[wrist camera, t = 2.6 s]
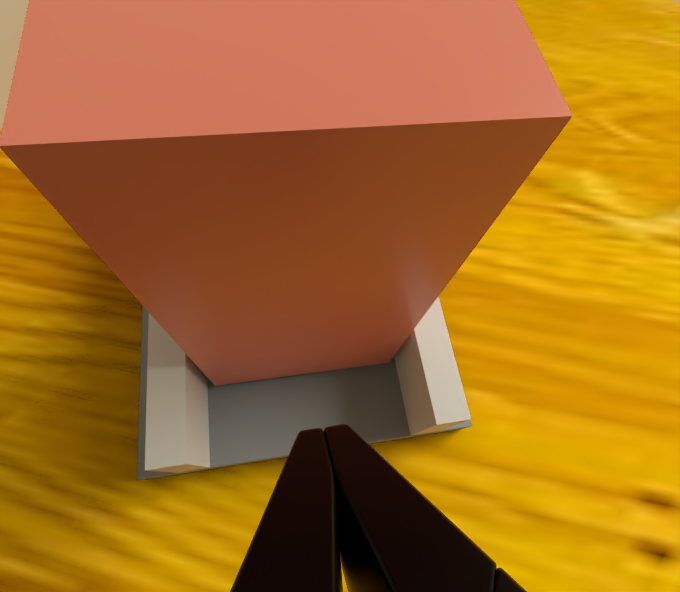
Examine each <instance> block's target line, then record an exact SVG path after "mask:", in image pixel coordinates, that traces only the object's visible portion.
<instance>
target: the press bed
mask: <svg viewBox="0 0 680 592" xmlns="http://www.w3.org/2000/svg"><path fill="white" fill-rule="evenodd" d="M470 420H471V417H470V413H469V409H468V405H467V402H466V398H465V394H464V390H463V387H462V383H461V379H460V376H459V372H458V368H457V364H456V361H455V357H454V353H453V349H452V346H451V342H450V338H449V335H448V331H447V327H446V323H445V320H444V316H443V312H442V308H441V305H440V301H439V297H437V299H436V300H435V302H434V303H433V304H432V306H431V307H430V308H429V310H428V311H427V312H426V314H425V315H424V316H423V318H422V319H421V320H420V322H419V323H418V324H417V326H416V327H415V328H414V330H413V331H412V332H411V334H410V335H409V337H408V338H407V339H406V341H405V342H404V343H403V345H402V346H401V347H400V349H399V350H398V351H397V353H396V354H395V355H394V357H393V358H392V359H391V361H390V362H389V363H383V364H376V365H368V366H361V367H353V368H346V369H338V370H331V371H323V372H316V373H308V374H301V375H293V376H286V377H278V378H271V379H263V380H256V381H248V382H241V383H233V384H226V385H218V386H215V385H214V384H213V383H212V382H211V381H210V380H209V379H208V378H207V376H206V375H205V374H204V373H203V372H202V371H201V370H200V369H199V368H198V366H197V365H196V364H195V363H194V362H193V361H192V360H191V359H190V358H189V356H188V355H187V354H186V353H185V352H184V351H183V350H182V349H181V348H180V346H179V345H178V344H177V343H176V342H175V341H174V340H173V339H172V338H171V337H170V335H169V334H168V333H167V332H166V331H165V330H164V329H163V328H162V327H161V325H160V324H159V323H158V322H157V321H156V320H155V319H154V318H153V317H152V315H151V314H150V313H149V312H148V311H147V310H146V309H145V308H144V307H143V305H142V335H141V367H140V399H139V430H138V462H137V479H153V478H159V477H165V476H172V475H178V474H184V473H190V472H197V471H203V470H209V469H216V468H222V467H228V466H234V465H241V464H247V463H253V462H259V461H266V460H272V459H278V458H284V457H288V455H289V453H290V451H291V448H292V446H293V444H294V442H295V439H296V437H297V435H298V433H299V432H300V431H302V430H308V429H314V428H321V429H322V430H323V431H324V429H325V428H326V427H328V426H334V425H340V424H347V425H349V426H350V427H351V428H352V429H353V430H354V431H355V432H356V433H357V434H359V435H360V436H361V437H362V438H363V439H364V440H365V441H366V442H367V443H368V444H372V443H378V442H384V441H391V440H397V439H403V438H409V437H416V436H422V435H428V434H434V433H441V432H447V431H453V430H459V429H464V428H467V427H470V426H472V425H471V421H470Z"/></svg>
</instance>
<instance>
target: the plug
mask: <svg viewBox="0 0 680 592" xmlns="http://www.w3.org/2000/svg"><path fill="white" fill-rule="evenodd" d="M571 117H572V114H571V112H570V110H569V108H568V106H567V104H566V102H565V100H564V98H563V96H562V94H561V92H560V90H559V88H558V86H557V84H556V82H555V80H554V78H553V76H552V74H551V72H550V70H549V68H548V66H547V64H546V62H545V60H544V58H543V56H542V54H541V52H540V50H539V48H538V46H537V43H536V41H535V39H534V37H533V35H532V33H531V31H530V29H529V27H528V25H527V23H526V21H525V19H524V17H523V15H522V13H521V11H520V9H519V7H518V5H517V3H516V1H515V0H29V4H28V8H27V14H26V18H25V23H24V27H23V32H22V37H21V42H20V47H19V51H18V57H17V61H16V66H15V70H14V76H13V81H12V85H11V90H10V94H9V99H8V104H7V109H6V113H5V118H4V123H3V128H2V133H1V137H0V148H1V149H2V150H3V151H4V152H5V154H6V155H7V156H8V157H9V158H10V159H11V160H12V161H13V162H14V164H15V165H16V166H17V167H18V168H19V169H20V170H21V171H22V172H23V174H24V175H25V176H26V177H27V178H28V179H29V180H30V181H31V182H32V184H33V185H34V186H35V187H36V188H37V189H38V190H39V191H40V192H41V194H42V195H43V196H44V197H45V198H46V199H47V200H48V201H49V202H50V203H51V205H52V206H53V207H54V208H55V209H56V210H57V211H58V212H59V213H60V215H61V216H62V217H63V218H64V219H65V220H66V221H67V222H68V223H69V225H70V226H71V227H72V228H73V229H74V230H75V231H76V232H77V233H78V235H79V236H80V237H81V238H82V239H83V240H84V241H85V242H86V243H87V245H88V246H89V247H90V248H91V249H92V250H93V251H94V252H95V253H96V254H97V256H98V257H99V258H100V259H101V260H102V261H103V262H104V263H105V264H106V266H107V267H108V268H109V269H110V270H111V271H112V272H113V273H114V274H115V276H116V277H117V278H118V279H119V280H120V281H121V282H122V283H123V284H124V286H125V287H126V288H127V289H128V290H129V291H130V292H131V293H132V294H133V296H134V297H135V298H136V299H137V300H138V301H139V302H140V303H141V304H142V305H143V307H144V308H145V309H146V310H147V311H148V312H149V313H150V314H151V315H152V317H153V318H154V319H155V320H156V321H157V322H158V323H159V324H160V325H161V327H162V328H163V329H164V330H165V331H166V332H167V333H168V334H169V335H170V337H171V338H172V339H173V340H174V341H175V342H176V343H177V344H178V345H179V346H180V348H181V349H182V350H183V351H184V352H185V353H186V354H187V355H188V356H189V358H190V359H191V360H192V361H193V362H194V363H195V364H196V365H197V366H198V368H199V369H200V370H201V371H202V372H203V373H204V374H205V375H206V376H207V378H208V379H209V380H210V381H211V382H212V383H213V384H214V385H215V386H218V385H226V384H233V383H241V382H248V381H256V380H263V379H271V378H278V377H286V376H293V375H301V374H308V373H316V372H323V371H331V370H338V369H346V368H353V367H361V366H368V365H376V364H383V363H389V362H390V361H391V359H392V358H393V357H394V355H395V354H396V353H397V351H398V350H399V349H400V347H401V346H402V345H403V343H404V342H405V341H406V339H407V338H408V337H409V335H410V334H411V332H412V331H413V330H414V328H415V327H416V326H417V324H418V323H419V322H420V320H421V319H422V318H423V316H424V315H425V314H426V312H427V311H428V310H429V308H430V307H431V306H432V304H433V303H434V302H435V300H436V299H437V297H438V296H439V295H440V293H441V292H442V291H443V289H444V288H445V287H446V285H447V284H448V283H449V281H450V280H451V279H452V277H453V276H454V275H455V273H456V272H457V271H458V269H459V268H460V267H461V265H462V264H463V263H464V261H465V260H466V258H467V257H468V256H469V254H470V253H471V252H472V250H473V249H474V248H475V246H476V245H477V244H478V242H479V241H480V240H481V238H482V237H483V236H484V234H485V233H486V232H487V230H488V229H489V228H490V226H491V225H492V224H493V222H494V221H495V219H496V218H497V217H498V215H499V214H500V213H501V211H502V210H503V209H504V207H505V206H506V205H507V203H508V202H509V201H510V199H511V198H512V197H513V195H514V194H515V193H516V191H517V190H518V189H519V187H520V186H521V184H522V183H523V182H524V180H525V179H526V178H527V176H528V175H529V174H530V172H531V171H532V170H533V168H534V167H535V166H536V164H537V163H538V162H539V160H540V159H541V158H542V156H543V155H544V154H545V152H546V151H547V150H548V148H549V147H550V145H551V144H552V143H553V141H554V140H555V139H556V137H557V136H558V135H559V133H560V132H561V131H562V129H563V128H564V127H565V125H566V124H567V123H568V121H569V120H570V119H571Z"/></svg>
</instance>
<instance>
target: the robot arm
mask: <svg viewBox="0 0 680 592" xmlns="http://www.w3.org/2000/svg"><path fill="white" fill-rule="evenodd" d="M341 563H342V569H343V573H344V577H345V581H346V585H347V588H348V592H527V591H525V590H524V589H523V588H522V587H521V586H520V585H519V584H518V583H517V582H516V581H515V580H514V579H513V578H511V577H510V576H509V575H508V574H507V573H506V572H505V571H504V570H503V569H502V568H497V570H496V563H495V562H494V561H493V560H492V559H491V558H490V557H489V556H488V555H487V554H486V553H485V552H483V551H482V550H481V549H480V548H479V547H478V546H477V545H476V544H475V543H474V542H473V541H472V540H471V539H470V538H469V537H467V536H466V535H465V534H464V533H463V532H462V531H461V530H460V529H459V528H458V527H457V526H456V525H455V524H454V523H453V522H451V521H450V520H449V519H448V518H447V517H446V516H445V515H444V514H443V513H442V512H441V511H440V510H439V509H438V508H436V507H435V506H434V505H433V504H432V503H431V502H430V501H429V500H428V499H427V498H426V497H425V496H424V495H423V494H422V493H420V492H419V491H418V490H417V489H416V488H415V487H414V486H413V485H412V484H411V483H410V482H409V481H408V480H407V479H406V478H404V477H403V476H402V475H401V474H400V473H399V472H398V471H397V470H396V469H395V468H394V467H393V466H392V465H391V464H390V463H388V462H387V461H386V460H385V459H384V458H383V457H382V456H381V455H380V454H379V453H378V452H377V451H376V450H375V449H373V448H372V447H371V446H370V445H369V444H368V443H367V442H366V441H365V440H364V439H363V438H362V437H361V436H360V435H359V434H357V433H356V432H355V431H354V430H353V429H352V428H351V427H350V426H349V425H347V424H340V425H334V426H328V427H326V428H325V429H324V431H323V430H322V429H321V428H314V429H308V430H302V431H300V432H299V433H298V435H297V437H296V439H295V442H294V444H293V446H292V448H291V451H290V453H289V455H288V458H287V460H286V462H285V465H284V467H283V469H282V472H281V474H280V476H279V479H278V481H277V483H276V486H275V488H274V490H273V493H272V495H271V497H270V500H269V502H268V504H267V507H266V509H265V511H264V514H263V516H262V518H261V521H260V523H259V525H258V528H257V530H256V532H255V535H254V537H253V539H252V542H251V544H250V546H249V549H248V551H247V553H246V556H245V558H244V560H243V563H242V565H241V567H240V570H239V572H238V574H237V577H236V579H235V581H234V584H233V586H232V588H231V591H230V592H343V587H342V572H341Z"/></svg>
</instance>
